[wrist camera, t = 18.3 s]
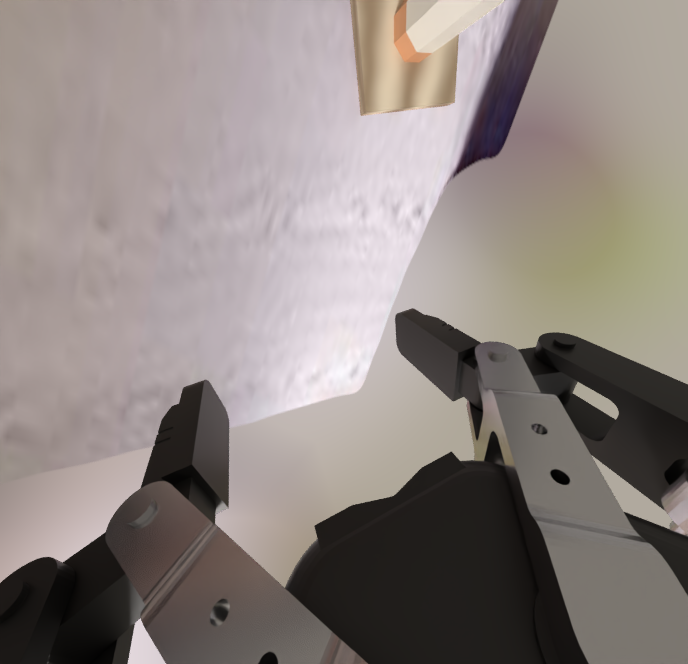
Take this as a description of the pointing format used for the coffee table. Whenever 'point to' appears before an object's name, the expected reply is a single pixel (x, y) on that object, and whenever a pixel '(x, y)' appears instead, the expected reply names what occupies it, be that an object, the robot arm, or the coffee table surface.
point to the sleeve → (434, 24)
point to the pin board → (397, 64)
